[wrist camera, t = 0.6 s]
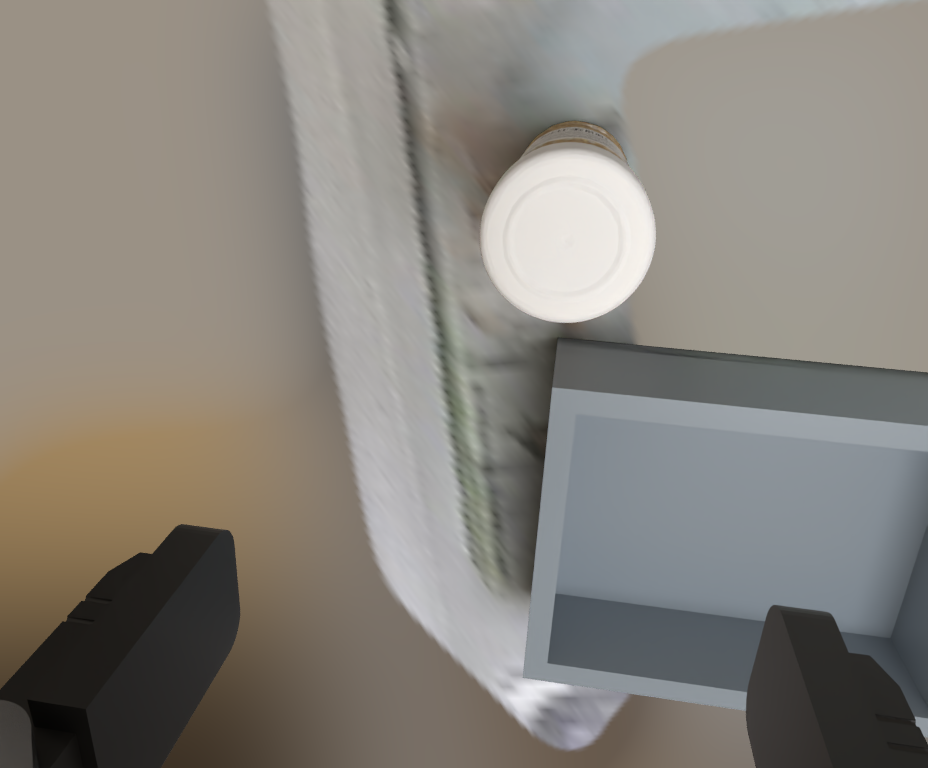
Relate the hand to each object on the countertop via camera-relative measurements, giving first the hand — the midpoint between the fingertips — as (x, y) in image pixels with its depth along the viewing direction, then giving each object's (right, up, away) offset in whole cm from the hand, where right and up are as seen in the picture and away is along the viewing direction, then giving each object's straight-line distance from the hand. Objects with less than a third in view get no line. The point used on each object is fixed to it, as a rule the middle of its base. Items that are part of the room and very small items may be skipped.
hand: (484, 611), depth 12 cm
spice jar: (+4, +12, +21) cm, 24 cm away
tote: (+12, -2, +25) cm, 28 cm away
